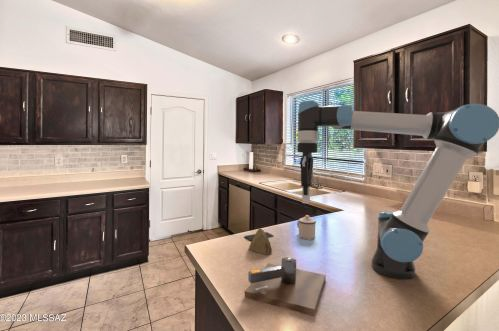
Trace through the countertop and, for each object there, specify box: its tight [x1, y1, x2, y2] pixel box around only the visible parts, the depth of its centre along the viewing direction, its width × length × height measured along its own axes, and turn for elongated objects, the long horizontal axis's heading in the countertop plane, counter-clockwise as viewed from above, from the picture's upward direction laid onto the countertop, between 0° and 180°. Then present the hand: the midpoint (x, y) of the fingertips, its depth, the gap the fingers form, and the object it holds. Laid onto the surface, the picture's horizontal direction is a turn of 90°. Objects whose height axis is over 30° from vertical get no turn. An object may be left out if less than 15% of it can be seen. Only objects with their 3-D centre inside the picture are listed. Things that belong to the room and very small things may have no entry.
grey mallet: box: [247, 256, 297, 284], centre depth 87 cm, size 17×5×8 cm, turn 112°
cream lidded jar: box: [296, 214, 316, 240], centre depth 141 cm, size 12×9×12 cm
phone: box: [243, 231, 274, 242], centre depth 139 cm, size 7×1×15 cm
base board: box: [244, 263, 326, 317], centre depth 89 cm, size 22×22×2 cm
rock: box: [248, 228, 273, 255], centre depth 119 cm, size 11×9×10 cm
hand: (305, 202), depth 102 cm, fingers closed
